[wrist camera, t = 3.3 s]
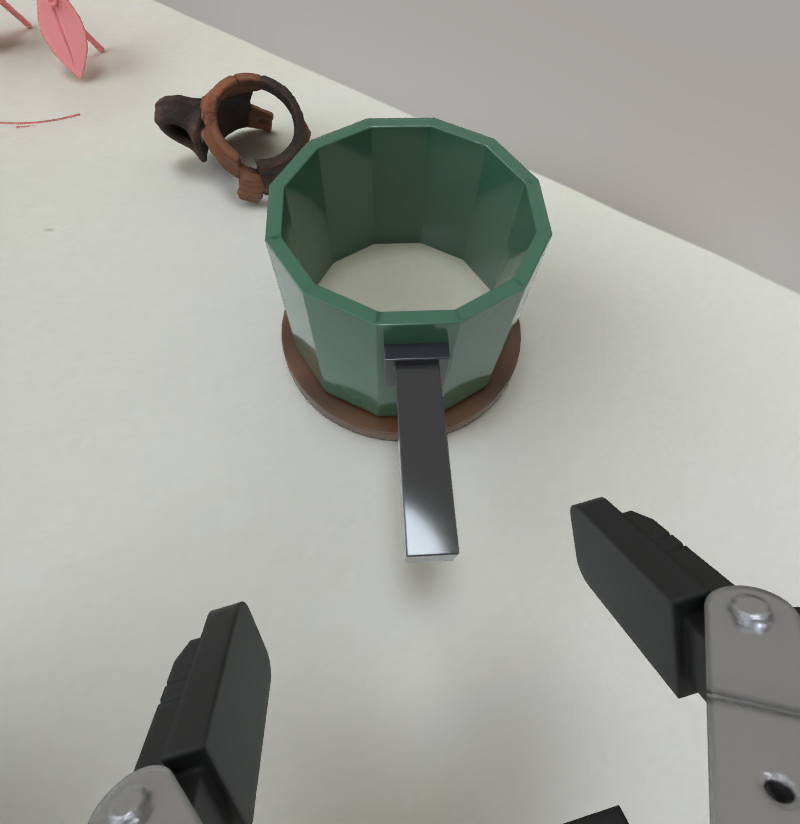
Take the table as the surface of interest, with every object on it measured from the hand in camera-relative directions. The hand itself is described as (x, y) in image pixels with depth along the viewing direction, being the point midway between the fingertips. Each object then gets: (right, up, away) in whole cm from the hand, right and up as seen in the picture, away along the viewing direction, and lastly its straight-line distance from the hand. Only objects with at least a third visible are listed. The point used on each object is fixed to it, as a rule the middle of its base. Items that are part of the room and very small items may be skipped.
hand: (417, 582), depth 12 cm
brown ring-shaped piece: (-14, +26, +31) cm, 43 cm away
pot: (0, +6, +21) cm, 22 cm away
